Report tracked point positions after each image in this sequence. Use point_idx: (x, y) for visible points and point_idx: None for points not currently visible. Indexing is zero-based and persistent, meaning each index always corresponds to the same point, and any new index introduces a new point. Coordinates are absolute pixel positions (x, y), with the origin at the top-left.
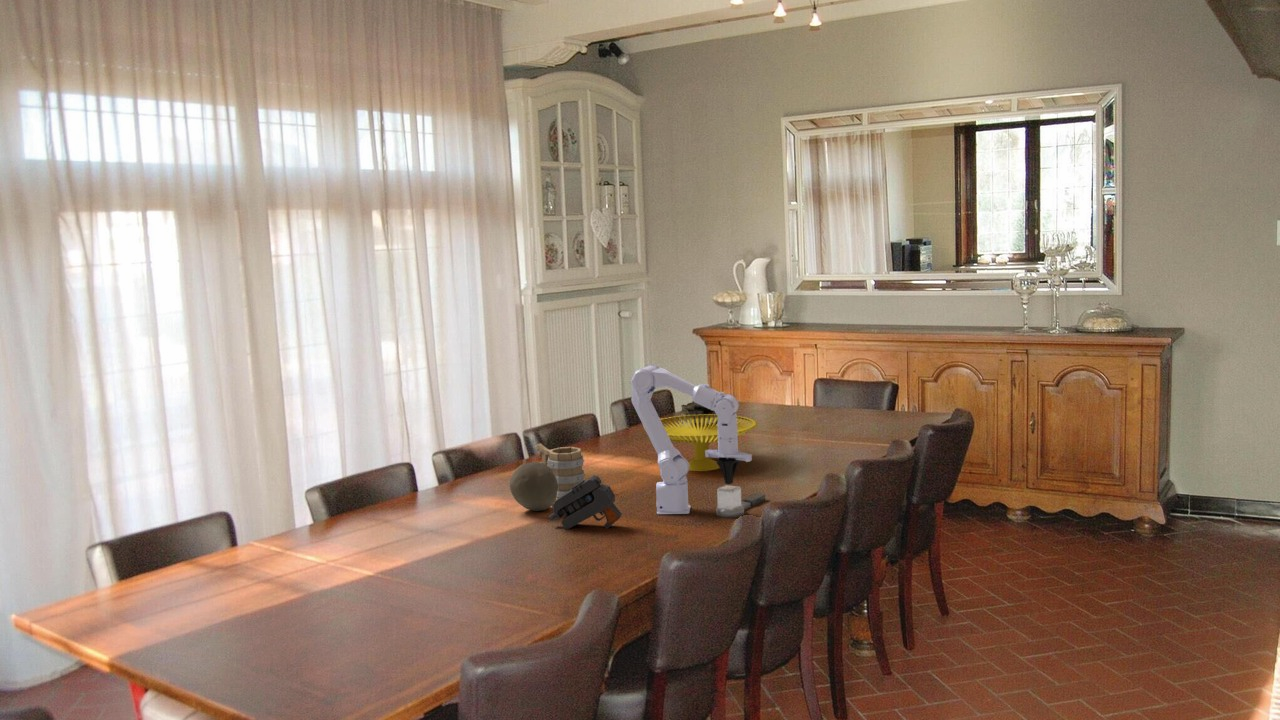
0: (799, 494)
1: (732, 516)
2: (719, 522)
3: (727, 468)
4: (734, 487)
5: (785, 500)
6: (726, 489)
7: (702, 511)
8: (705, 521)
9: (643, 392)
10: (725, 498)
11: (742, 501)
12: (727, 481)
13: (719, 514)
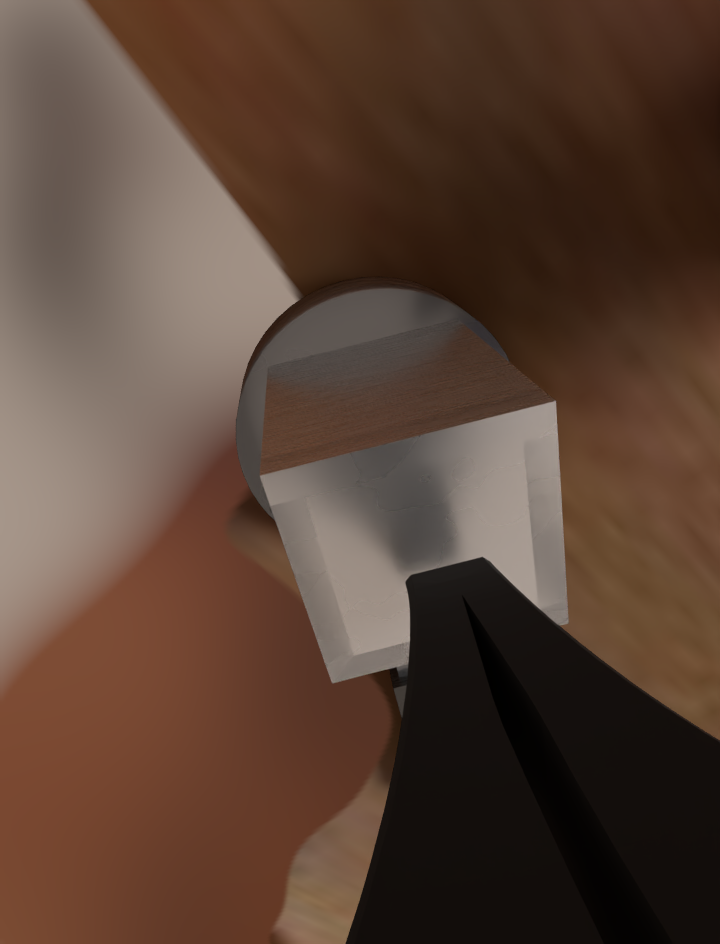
0: (344, 920)
1: (261, 339)
2: (231, 97)
3: (481, 884)
4: (369, 610)
5: (316, 835)
6: (386, 465)
7: (649, 300)
8: (389, 4)
9: None
10: (370, 388)
11: None
12: (442, 592)
13: (398, 283)
